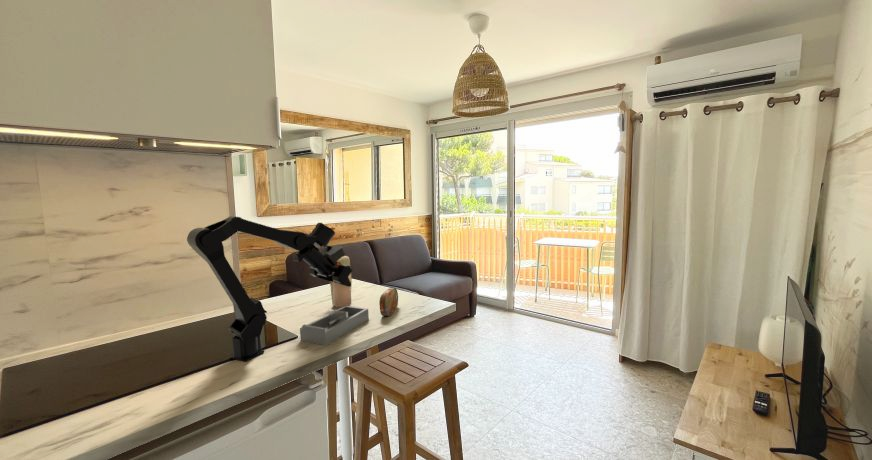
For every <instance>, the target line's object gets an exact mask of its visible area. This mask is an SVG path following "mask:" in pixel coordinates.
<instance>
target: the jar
mask: <svg viewBox="0 0 872 460" xmlns="http://www.w3.org/2000/svg"><path fill="white" fill-rule="evenodd" d="M348 278H349V280H350V275H349V276H348ZM350 282H351V280H350ZM333 293H334V307H336V308H342V307H346V306H351V305H352V285H351V286H350V287H348V286H345V285H341V284H338V283H334V280H333Z"/></svg>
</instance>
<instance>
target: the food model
mask: <svg viewBox="0 0 872 460" xmlns="http://www.w3.org/2000/svg"><path fill="white" fill-rule="evenodd" d="M337 262H338V263H337V265H335V267H339V265H342V264H344V265H349V266H350V267H351V268H352V266H351V260H350V257H349V256H347V255H345V256H344V257H341V258H340V259H339V260H337ZM350 280H351V284H352V283H353V282H352V280H353V279H352V272H351V273H350ZM329 284H330V285H329V286H330V296H331V302H332V305H333V306H334V293H333V282H330V281H329ZM334 307H335V306H334Z"/></svg>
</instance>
